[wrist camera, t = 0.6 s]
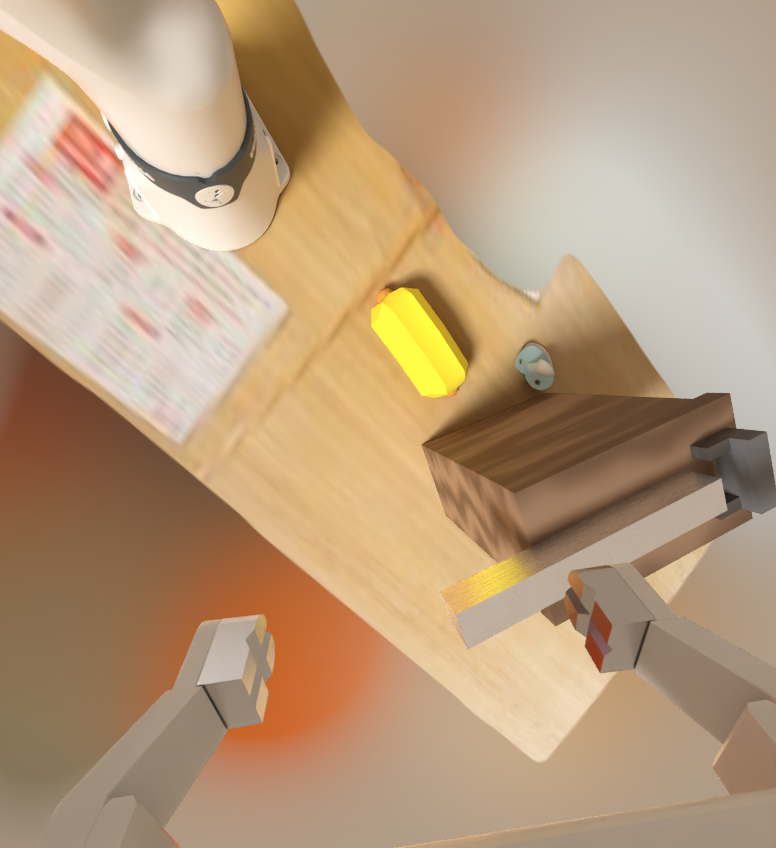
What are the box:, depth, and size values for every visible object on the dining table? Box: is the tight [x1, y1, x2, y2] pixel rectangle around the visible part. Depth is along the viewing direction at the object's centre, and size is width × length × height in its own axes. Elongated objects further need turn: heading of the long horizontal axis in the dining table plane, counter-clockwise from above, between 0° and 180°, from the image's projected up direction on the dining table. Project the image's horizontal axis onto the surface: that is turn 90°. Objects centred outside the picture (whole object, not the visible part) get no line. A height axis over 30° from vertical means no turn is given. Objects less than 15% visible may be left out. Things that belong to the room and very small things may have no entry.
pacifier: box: [516, 343, 555, 390], centre depth 55 cm, size 7×6×6 cm
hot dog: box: [371, 287, 469, 398], centre depth 51 cm, size 18×7×8 cm
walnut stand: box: [422, 393, 776, 626], centre depth 44 cm, size 13×23×29 cm, turn 110°
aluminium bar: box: [440, 470, 727, 649], centre depth 30 cm, size 3×25×3 cm, turn 110°
